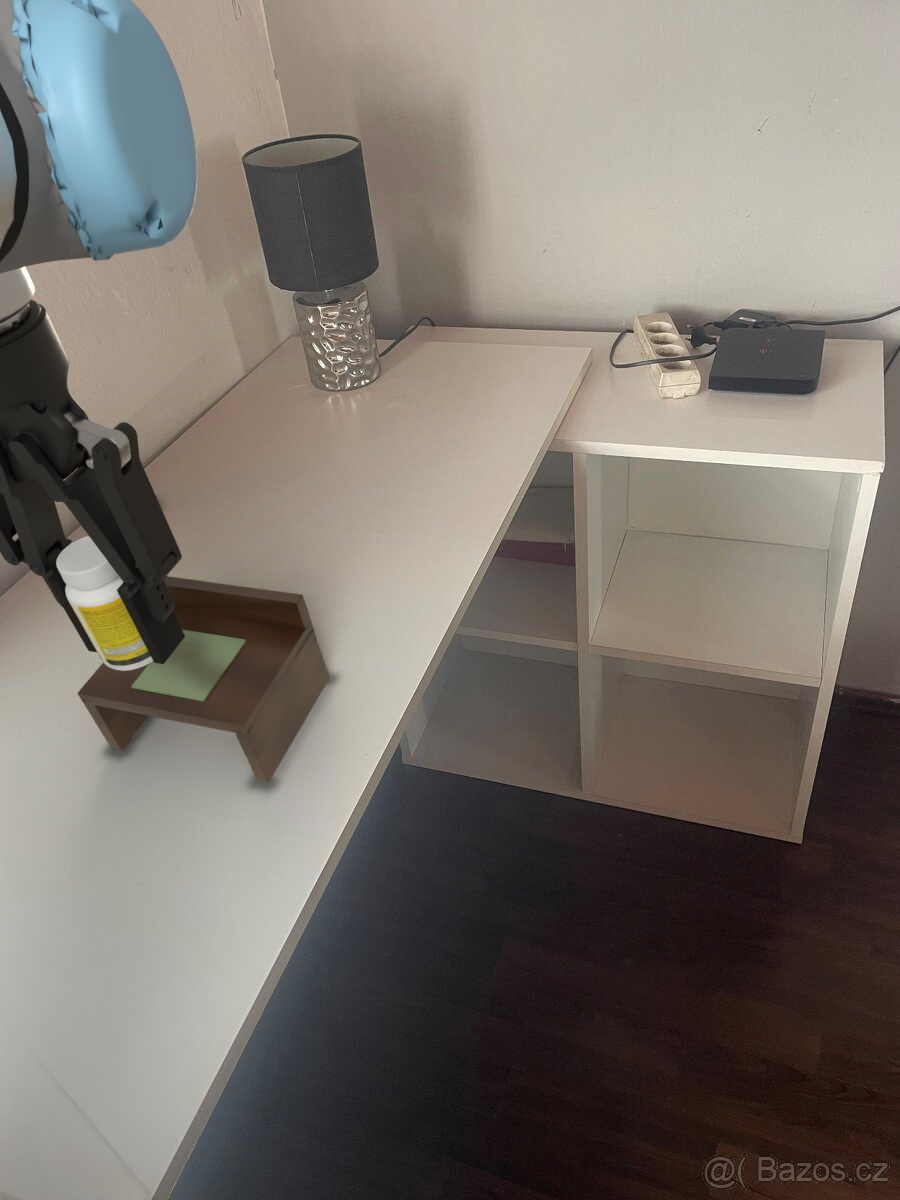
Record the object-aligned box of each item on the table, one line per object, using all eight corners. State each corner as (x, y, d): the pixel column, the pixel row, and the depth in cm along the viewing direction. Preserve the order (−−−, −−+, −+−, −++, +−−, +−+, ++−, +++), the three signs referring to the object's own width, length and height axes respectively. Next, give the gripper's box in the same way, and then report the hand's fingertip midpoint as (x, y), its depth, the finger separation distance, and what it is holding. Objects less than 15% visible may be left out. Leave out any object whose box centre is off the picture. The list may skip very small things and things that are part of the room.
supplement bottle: (185, 639, 60) (140, 543, 54) (128, 682, 57) (76, 586, 51) (144, 615, 62) (97, 521, 57) (89, 655, 60) (34, 561, 54)
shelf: (268, 782, 71) (231, 699, 64) (110, 748, 76) (61, 667, 69) (330, 677, 79) (302, 593, 72) (183, 653, 84) (145, 573, 78)
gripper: (151, 291, 44) (274, 623, 59) (-105, 289, 50) (68, 592, 65) (57, 361, 39) (219, 705, 54) (-215, 350, 45) (0, 663, 60)
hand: (136, 643), depth 59 cm, fingers closed on supplement bottle, 5 cm apart
